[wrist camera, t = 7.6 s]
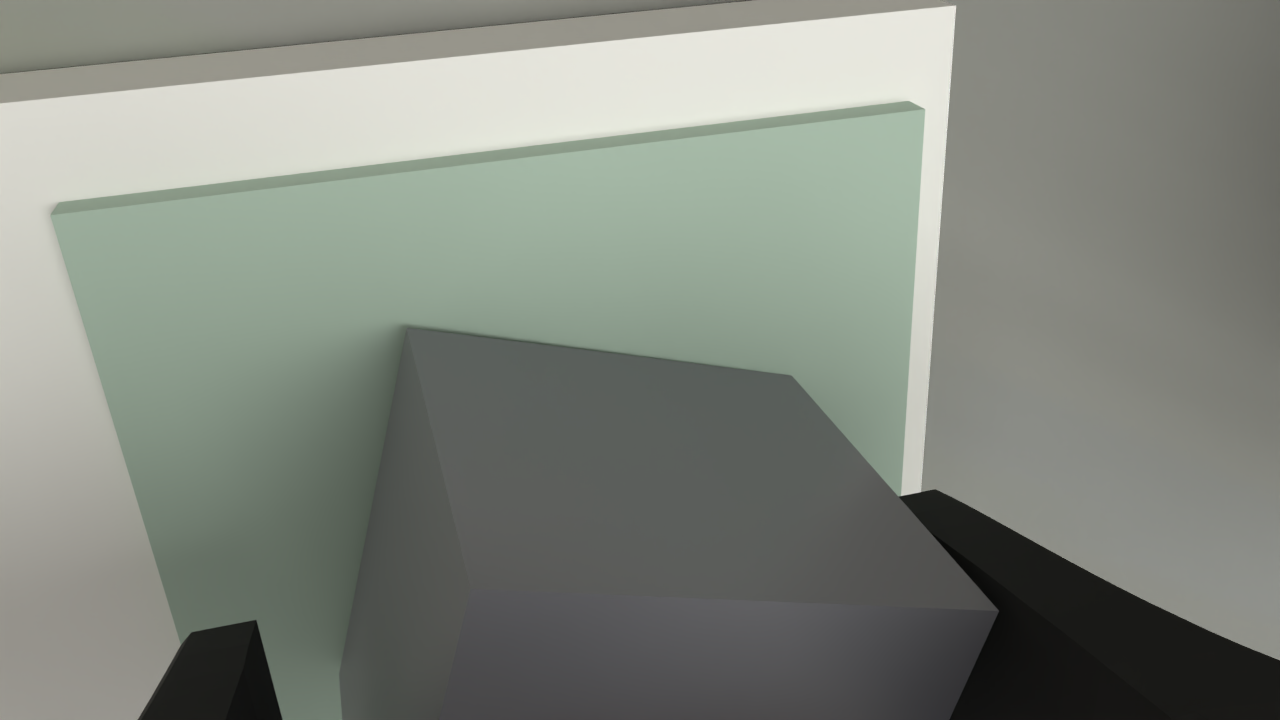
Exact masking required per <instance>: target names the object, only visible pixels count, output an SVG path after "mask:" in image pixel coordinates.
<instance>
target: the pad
mask: <svg viewBox="0 0 1280 720" xmlns="http://www.w3.org/2000/svg"><path fill="white" fill-rule="evenodd" d="M924 122H925V109H924V108H922V107H920V106H918V105H916V104H914V103H912V102H910V101H904V102H895V103H887V104H879V105H870V106H862V107H854V108H845V109H837V110H828V111H820V112H812V113H803V114H795V115H786V116H778V117H770V118H761V119H753V120H745V121H736V122H728V123H719V124H711V125H703V126H694V127H686V128H677V129H669V130H661V131H652V132H644V133H636V134H627V135H619V136H610V137H602V138H594V139H585V140H577V141H569V142H560V143H552V144H543V145H535V146H527V147H518V148H510V149H501V150H493V151H485V152H476V153H468V154H460V155H451V156H443V157H434V158H426V159H418V160H409V161H401V162H392V163H384V164H376V165H367V166H359V167H351V168H342V169H334V170H325V171H317V172H309V173H300V174H292V175H284V176H275V177H267V178H258V179H250V180H242V181H233V182H225V183H216V184H208V185H200V186H191V187H183V188H175V189H166V190H158V191H149V192H141V193H133V194H124V195H116V196H107V197H99V198H91V199H82V200H74V201H66V202H59V203H58V204H57V206H56V207H55V209H54V210H53V212H52V213H51V215H50V216H51V220H52V223H53V226H54V229H55V233H56V236H57V239H58V243H59V246H60V249H61V252H62V256H63V259H64V262H65V266H66V269H67V272H68V275H69V279H70V282H71V285H72V289H73V292H74V295H75V298H76V302H77V305H78V308H79V312H80V315H81V318H82V321H83V325H84V328H85V331H86V335H87V338H88V341H89V344H90V348H91V351H92V354H93V358H94V361H95V364H96V367H97V371H98V374H99V377H100V381H101V384H102V387H103V390H104V394H105V397H106V400H107V404H108V407H109V410H110V413H111V417H112V420H113V423H114V427H115V430H116V433H117V436H118V440H119V443H120V446H121V450H122V453H123V456H124V459H125V463H126V466H127V469H128V473H129V476H130V479H131V482H132V486H133V489H134V492H135V496H136V499H137V502H138V506H139V509H140V512H141V515H142V519H143V522H144V525H145V529H146V532H147V535H148V538H149V542H150V545H151V548H152V552H153V555H154V558H155V561H156V565H157V568H158V571H159V575H160V578H161V581H162V584H163V588H164V591H165V594H166V598H167V601H168V604H169V607H170V611H171V614H172V617H173V621H174V624H175V627H176V630H177V634H178V637H179V640H180V644H182V643H183V642H184V640H185V639H186V638H187V637H188V636H189V634H190V633H191V632H195V631H200V630H205V629H211V628H216V627H221V626H226V625H231V624H237V623H242V622H247V621H252V620H257V624H258V628H259V632H260V636H261V639H262V643H263V647H264V651H265V655H266V659H267V662H268V666H269V670H270V674H271V678H272V681H273V685H274V689H275V693H276V697H277V701H278V704H279V708H280V712H281V716H282V720H342V708H341V695H340V681H339V671H340V666H341V661H342V656H343V651H344V646H345V641H346V636H347V630H348V625H349V620H350V615H351V610H352V605H353V600H354V595H355V590H356V584H357V579H358V574H359V569H360V564H361V559H362V554H363V549H364V543H365V538H366V533H367V528H368V523H369V518H370V513H371V508H372V503H373V497H374V492H375V487H376V482H377V477H378V472H379V467H380V462H381V456H382V451H383V446H384V441H385V436H386V431H387V426H388V421H389V415H390V410H391V405H392V400H393V395H394V390H395V385H396V380H397V374H398V369H399V364H400V359H401V354H402V349H403V344H404V339H405V334H406V328H412V329H420V330H428V331H437V332H445V333H453V334H461V335H469V336H477V337H485V338H493V339H501V340H509V341H517V342H525V343H533V344H541V345H550V346H558V347H566V348H574V349H582V350H590V351H598V352H606V353H614V354H622V355H630V356H638V357H646V358H655V359H663V360H671V361H679V362H687V363H695V364H703V365H711V366H719V367H727V368H735V369H743V370H751V371H760V372H768V373H776V374H784V375H792V376H793V377H794V379H795V380H796V381H797V382H798V383H799V384H800V385H801V387H802V388H803V389H804V390H805V391H806V392H807V393H808V394H809V396H810V397H811V398H812V399H813V400H814V401H815V402H816V404H817V405H818V406H819V407H820V408H821V409H822V410H823V412H824V413H825V414H826V415H827V416H828V417H829V418H830V419H831V421H832V422H833V423H834V424H835V425H836V426H837V427H838V429H839V430H840V431H841V432H842V433H843V434H844V435H845V437H846V438H847V439H848V440H849V441H850V442H851V443H852V444H853V446H854V447H855V448H856V449H857V450H858V451H859V452H860V454H861V455H862V456H863V457H864V458H865V459H866V460H867V462H868V463H869V464H870V465H871V466H872V467H873V468H874V469H875V471H876V472H877V473H878V474H879V475H880V476H881V477H882V479H883V480H884V481H885V482H886V483H887V484H888V485H889V486H890V488H891V489H892V490H893V491H894V492H895V493H896V494H897V496H898V497H899V496H901V488H902V472H903V456H904V440H905V424H906V408H907V392H908V376H909V360H910V344H911V328H912V313H913V297H914V281H915V265H916V249H917V233H918V217H919V201H920V185H921V169H922V153H923V137H924Z"/></svg>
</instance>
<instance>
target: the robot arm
mask: <svg viewBox="0 0 1280 720" xmlns="http://www.w3.org/2000/svg"><path fill="white" fill-rule="evenodd" d="M899 498H900V499H901V500H902V501H903V502H904V504H905V505H906V506H907V507H908V508H909V509H910V510H911V511H912V513H913V514H914V515H915V516H916V517H917V518H918V519H919V521H920V522H921V523H922V524H923V525H924V526H925V527H926V529H927V530H928V531H929V532H930V533H931V534H932V535H933V536H934V538H935V539H936V540H937V541H938V542H939V543H940V544H941V546H942V547H943V548H944V549H945V550H946V551H947V552H948V554H949V555H950V556H951V557H952V558H953V559H954V560H955V561H956V563H957V564H958V565H959V566H960V567H961V568H962V569H963V571H964V572H965V573H966V574H967V575H968V576H969V577H970V579H971V580H972V581H973V582H974V583H975V584H976V585H977V586H978V588H979V589H980V590H981V591H982V592H983V593H984V594H985V596H986V597H987V598H988V599H989V600H990V601H991V602H992V603H993V605H994V606H995V607H996V608H997V609H998V610H999V612H998V615H997V617H996V619H995V621H994V623H993V625H992V628H991V630H990V632H989V634H988V636H987V639H986V641H985V643H984V645H983V647H982V649H981V652H980V654H979V656H978V658H977V660H976V663H975V665H974V667H973V669H972V671H971V673H970V676H969V678H968V680H967V682H966V684H965V687H964V689H963V691H962V693H961V695H960V697H959V700H958V702H957V704H956V706H955V708H954V711H953V713H952V715H951V717H950V719H949V720H1280V660H1277V659H1275V658H1272V657H1270V656H1267V655H1265V654H1262V653H1260V652H1257V651H1254V650H1252V649H1249V648H1247V647H1245V646H1242V645H1240V644H1238V643H1235V642H1233V641H1231V640H1228V639H1226V638H1224V637H1221V636H1219V635H1217V634H1215V633H1212V632H1210V631H1208V630H1206V629H1204V628H1202V627H1199V626H1197V625H1195V624H1193V623H1191V622H1189V621H1187V620H1185V619H1182V618H1180V617H1178V616H1176V615H1174V614H1172V613H1170V612H1168V611H1166V610H1163V609H1161V608H1159V607H1157V606H1155V605H1153V604H1151V603H1149V602H1147V601H1145V600H1143V599H1141V598H1139V597H1137V596H1135V595H1133V594H1131V593H1129V592H1127V591H1125V590H1123V589H1121V588H1119V587H1117V586H1115V585H1113V584H1111V583H1109V582H1107V581H1105V580H1103V579H1102V578H1100V577H1098V576H1096V575H1094V574H1092V573H1090V572H1088V571H1086V570H1085V569H1083V568H1081V567H1079V566H1077V565H1075V564H1073V563H1071V562H1070V561H1068V560H1066V559H1064V558H1062V557H1060V556H1059V555H1057V554H1055V553H1053V552H1051V551H1049V550H1048V549H1046V548H1044V547H1042V546H1040V545H1039V544H1037V543H1035V542H1033V541H1031V540H1029V539H1028V538H1026V537H1024V536H1022V535H1020V534H1019V533H1017V532H1015V531H1013V530H1011V529H1010V528H1008V527H1006V526H1004V525H1002V524H1001V523H999V522H997V521H995V520H993V519H992V518H990V517H988V516H986V515H984V514H982V513H981V512H979V511H977V510H975V509H973V508H971V507H969V506H968V505H966V504H964V503H962V502H960V501H958V500H956V499H954V498H952V497H950V496H948V495H946V494H944V493H942V492H940V491H938V490H930V491H925V492H919V493H914V494H909V495H904V496H899ZM138 720H282V716H281V712H280V708H279V704H278V701H277V697H276V693H275V689H274V685H273V681H272V678H271V674H270V670H269V666H268V662H267V659H266V655H265V651H264V647H263V643H262V639H261V636H260V632H259V628H258V624H257V620H252V621H247V622H242V623H237V624H231V625H226V626H221V627H216V628H211V629H205V630H200V631H195V632H191V633H190V634H189V636H188V637H187V638H186V639H185V640H184V642H183V643H182V644H181V646H180V648H179V649H178V651H177V653H176V655H175V656H174V658H173V660H172V662H171V664H170V665H169V667H168V669H167V671H166V672H165V674H164V676H163V677H162V679H161V681H160V683H159V684H158V686H157V688H156V690H155V691H154V693H153V695H152V696H151V698H150V700H149V702H148V703H147V705H146V707H145V708H144V710H143V712H142V713H141V715H140V717H139V718H138Z"/></svg>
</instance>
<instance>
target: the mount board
mask: <svg viewBox="0 0 1280 720" xmlns="http://www.w3.org/2000/svg"><path fill="white" fill-rule="evenodd" d="M955 13H956V5H953V4H950V3H947V2H944V1H941V0H752V1H742V2H731V3H721V4H711V5H701V6H690V7H680V8H670V9H660V10H650V11H639V12H629V13H619V14H609V15H599V16H588V17H578V18H568V19H558V20H548V21H537V22H527V23H517V24H507V25H497V26H486V27H476V28H466V29H456V30H445V31H435V32H425V33H415V34H405V35H394V36H384V37H374V38H364V39H354V40H343V41H333V42H323V43H313V44H303V45H292V46H282V47H272V48H262V49H252V50H241V51H231V52H221V53H211V54H200V55H190V56H180V57H170V58H160V59H149V60H139V61H129V62H119V63H109V64H98V65H88V66H78V67H68V68H58V69H47V70H37V71H27V72H17V73H7V74H0V720H138V718H139V717H140V715H141V713H142V712H143V710H144V708H145V707H146V705H147V703H148V702H149V700H150V698H151V696H152V695H153V693H154V691H155V690H156V688H157V686H158V684H159V683H160V681H161V679H162V677H163V676H164V674H165V672H166V671H167V669H168V667H169V665H170V664H171V662H172V660H173V658H174V656H175V655H176V653H177V651H178V649H179V648H180V646H181V644H180V640H179V637H178V634H177V630H176V627H175V624H174V621H173V617H172V614H171V611H170V607H169V604H168V601H167V598H166V594H165V591H164V588H163V584H162V581H161V578H160V575H159V571H158V568H157V565H156V561H155V558H154V555H153V552H152V548H151V545H150V542H149V538H148V535H147V532H146V529H145V525H144V522H143V519H142V515H141V512H140V509H139V506H138V502H137V499H136V496H135V492H134V489H133V486H132V482H131V479H130V476H129V473H128V469H127V466H126V463H125V459H124V456H123V453H122V450H121V446H120V443H119V440H118V436H117V433H116V430H115V427H114V423H113V420H112V417H111V413H110V410H109V407H108V404H107V400H106V397H105V394H104V390H103V387H102V384H101V381H100V377H99V374H98V371H97V367H96V364H95V361H94V358H93V354H92V351H91V348H90V344H89V341H88V338H87V335H86V331H85V328H84V325H83V321H82V318H81V315H80V312H79V308H78V305H77V302H76V298H75V295H74V292H73V289H72V285H71V282H70V279H69V275H68V272H67V269H66V266H65V262H64V259H63V256H62V252H61V249H60V246H59V243H58V239H57V236H56V233H55V229H54V226H53V223H52V220H51V216H50V215H51V213H52V212H53V210H54V209H55V207H56V206H57V204H58V203H59V202H66V201H74V200H82V199H91V198H99V197H107V196H116V195H124V194H133V193H141V192H149V191H158V190H166V189H175V188H183V187H191V186H200V185H208V184H216V183H225V182H233V181H242V180H250V179H258V178H267V177H275V176H284V175H292V174H300V173H309V172H317V171H325V170H334V169H342V168H351V167H359V166H367V165H376V164H384V163H392V162H401V161H409V160H418V159H426V158H434V157H443V156H451V155H460V154H468V153H476V152H485V151H493V150H501V149H510V148H518V147H527V146H535V145H543V144H552V143H560V142H569V141H577V140H585V139H594V138H602V137H610V136H619V135H627V134H636V133H644V132H652V131H661V130H669V129H677V128H686V127H694V126H703V125H711V124H719V123H728V122H736V121H745V120H753V119H761V118H770V117H778V116H786V115H795V114H803V113H812V112H820V111H828V110H837V109H845V108H854V107H862V106H870V105H879V104H887V103H895V102H904V101H910V102H912V103H914V104H916V105H918V106H920V107H922V108H924V109H925V122H924V137H923V153H922V169H921V185H920V201H919V217H918V233H917V249H916V265H915V281H914V297H913V313H912V328H911V344H910V360H909V376H908V392H907V408H906V424H905V440H904V456H903V472H902V488H901V496H904V495H909V494H914V493H919V492H921V484H922V470H923V456H924V442H925V428H926V414H927V401H928V387H929V373H930V359H931V345H932V331H933V317H934V304H935V290H936V276H937V262H938V248H939V234H940V221H941V207H942V193H943V179H944V165H945V151H946V137H947V124H948V110H949V96H950V82H951V68H952V54H953V41H954V27H955Z"/></svg>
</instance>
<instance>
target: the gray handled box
mask: <svg viewBox="0 0 1280 720" xmlns="http://www.w3.org/2000/svg"><path fill="white" fill-rule="evenodd" d="M998 612H999V610H998V609H997V608H996V607H995V606H994V605H993V603H992V602H991V601H990V600H989V599H988V598H987V597H986V596H985V594H984V593H983V592H982V591H981V590H980V589H979V588H978V586H977V585H976V584H975V583H974V582H973V581H972V580H971V579H970V577H969V576H968V575H967V574H966V573H965V572H964V571H963V569H962V568H961V567H960V566H959V565H958V564H957V563H956V561H955V560H954V559H953V558H952V557H951V556H950V555H949V554H948V552H947V551H946V550H945V549H944V548H943V547H942V546H941V544H940V543H939V542H938V541H937V540H936V539H935V538H934V536H933V535H932V534H931V533H930V532H929V531H928V530H927V529H926V527H925V526H924V525H923V524H922V523H921V522H920V521H919V519H918V518H917V517H916V516H915V515H914V514H913V513H912V511H911V510H910V509H909V508H908V507H907V506H906V505H905V504H904V502H903V501H902V500H901V499H900V498H899V497H898V496H897V494H896V493H895V492H894V491H893V490H892V489H891V488H890V486H889V485H888V484H887V483H886V482H885V481H884V480H883V479H882V477H881V476H880V475H879V474H878V473H877V472H876V471H875V469H874V468H873V467H872V466H871V465H870V464H869V463H868V462H867V460H866V459H865V458H864V457H863V456H862V455H861V454H860V452H859V451H858V450H857V449H856V448H855V447H854V446H853V444H852V443H851V442H850V441H849V440H848V439H847V438H846V437H845V435H844V434H843V433H842V432H841V431H840V430H839V429H838V427H837V426H836V425H835V424H834V423H833V422H832V421H831V419H830V418H829V417H828V416H827V415H826V414H825V413H824V412H823V410H822V409H821V408H820V407H819V406H818V405H817V404H816V402H815V401H814V400H813V399H812V398H811V397H810V396H809V394H808V393H807V392H806V391H805V390H804V389H803V388H802V387H801V385H800V384H799V383H798V382H797V381H796V380H795V379H794V377H793V376H792V375H784V374H776V373H768V372H760V371H751V370H743V369H735V368H727V367H719V366H711V365H703V364H695V363H687V362H679V361H671V360H663V359H655V358H646V357H638V356H630V355H622V354H614V353H606V352H598V351H590V350H582V349H574V348H566V347H558V346H550V345H541V344H533V343H525V342H517V341H509V340H501V339H493V338H485V337H477V336H469V335H461V334H453V333H445V332H437V331H428V330H420V329H412V328H406V334H405V339H404V344H403V349H402V354H401V359H400V364H399V369H398V374H397V380H396V385H395V390H394V395H393V400H392V405H391V410H390V415H389V421H388V426H387V431H386V436H385V441H384V446H383V451H382V456H381V462H380V467H379V472H378V477H377V482H376V487H375V492H374V497H373V503H372V508H371V513H370V518H369V523H368V528H367V533H366V538H365V543H364V549H363V554H362V559H361V564H360V569H359V574H358V579H357V584H356V590H355V595H354V600H353V605H352V610H351V615H350V620H349V625H348V630H347V636H346V641H345V646H344V651H343V656H342V661H341V666H340V671H339V681H340V695H341V708H342V720H949V719H950V717H951V715H952V713H953V711H954V708H955V706H956V704H957V702H958V700H959V697H960V695H961V693H962V691H963V689H964V687H965V684H966V682H967V680H968V678H969V676H970V673H971V671H972V669H973V667H974V665H975V663H976V660H977V658H978V656H979V654H980V652H981V649H982V647H983V645H984V643H985V641H986V639H987V636H988V634H989V632H990V630H991V628H992V625H993V623H994V621H995V619H996V617H997V615H998Z"/></svg>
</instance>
